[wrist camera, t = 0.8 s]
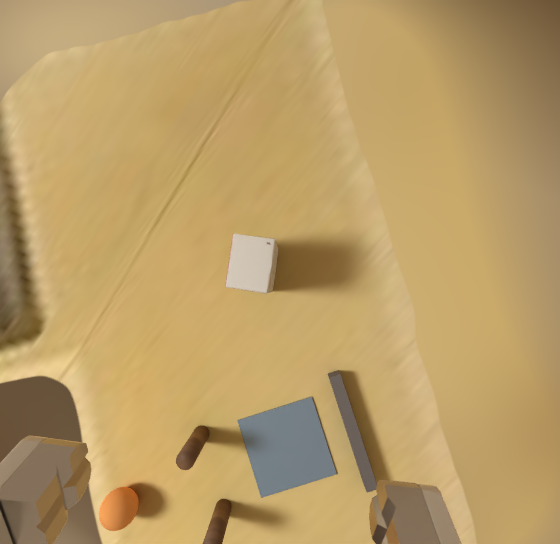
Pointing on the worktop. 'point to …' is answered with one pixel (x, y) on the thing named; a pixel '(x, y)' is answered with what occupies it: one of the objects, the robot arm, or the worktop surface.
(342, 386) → the wall
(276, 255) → the small box
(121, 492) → the ball
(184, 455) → the post
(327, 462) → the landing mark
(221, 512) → the post
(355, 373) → the worktop surface
